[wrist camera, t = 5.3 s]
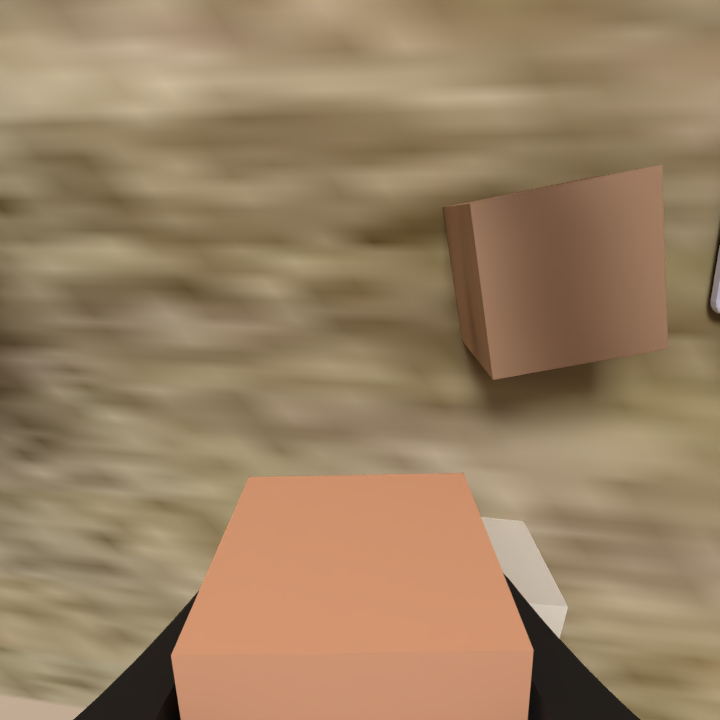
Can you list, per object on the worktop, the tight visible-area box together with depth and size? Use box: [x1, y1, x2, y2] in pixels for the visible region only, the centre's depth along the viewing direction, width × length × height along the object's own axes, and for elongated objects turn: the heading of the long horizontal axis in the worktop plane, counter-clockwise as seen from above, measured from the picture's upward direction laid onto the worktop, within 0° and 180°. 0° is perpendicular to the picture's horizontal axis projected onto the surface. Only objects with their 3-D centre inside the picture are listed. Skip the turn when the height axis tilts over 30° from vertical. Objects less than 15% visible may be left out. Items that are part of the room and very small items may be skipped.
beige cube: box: [481, 517, 568, 639], centre depth 20 cm, size 5×5×5 cm
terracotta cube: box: [171, 473, 534, 720], centre depth 10 cm, size 5×5×5 cm
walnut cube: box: [443, 165, 668, 380], centre depth 16 cm, size 5×5×5 cm
